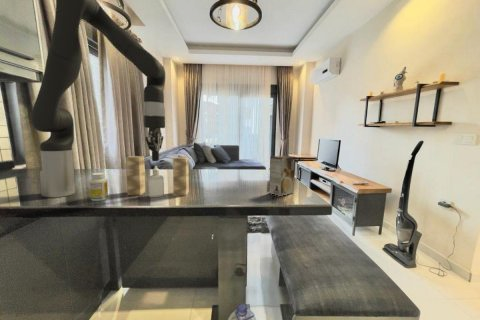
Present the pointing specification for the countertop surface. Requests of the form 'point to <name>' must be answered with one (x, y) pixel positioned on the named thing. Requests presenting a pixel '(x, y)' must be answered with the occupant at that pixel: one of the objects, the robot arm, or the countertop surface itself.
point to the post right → (180, 176)
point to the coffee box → (282, 175)
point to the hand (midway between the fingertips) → (155, 160)
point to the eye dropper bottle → (156, 184)
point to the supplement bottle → (98, 187)
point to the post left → (135, 175)
